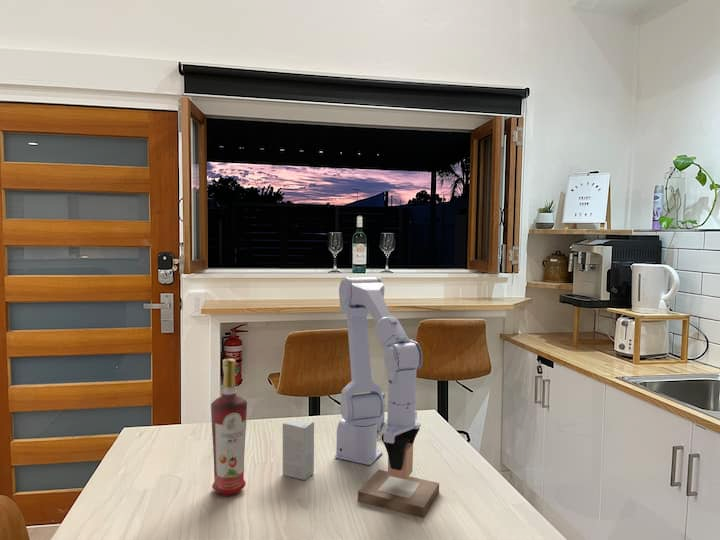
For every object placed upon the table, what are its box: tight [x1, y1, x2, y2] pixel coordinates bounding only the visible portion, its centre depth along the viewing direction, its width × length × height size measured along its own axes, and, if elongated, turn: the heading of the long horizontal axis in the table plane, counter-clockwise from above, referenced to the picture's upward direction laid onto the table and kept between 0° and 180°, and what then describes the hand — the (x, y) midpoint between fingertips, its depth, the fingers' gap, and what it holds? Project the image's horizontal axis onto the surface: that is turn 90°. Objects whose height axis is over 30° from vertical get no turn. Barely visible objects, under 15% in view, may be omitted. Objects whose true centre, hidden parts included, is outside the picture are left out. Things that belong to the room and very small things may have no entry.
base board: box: [357, 469, 440, 518], centre depth 109 cm, size 14×11×2 cm
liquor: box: [210, 358, 248, 497], centre depth 109 cm, size 7×7×28 cm
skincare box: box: [282, 417, 315, 481], centre depth 117 cm, size 6×4×12 cm
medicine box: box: [369, 392, 386, 432], centre depth 148 cm, size 8×4×9 cm, turn 168°
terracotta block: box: [387, 443, 414, 480], centre depth 108 cm, size 4×4×6 cm
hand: (400, 464), depth 108 cm, fingers closed on terracotta block, 4 cm apart
